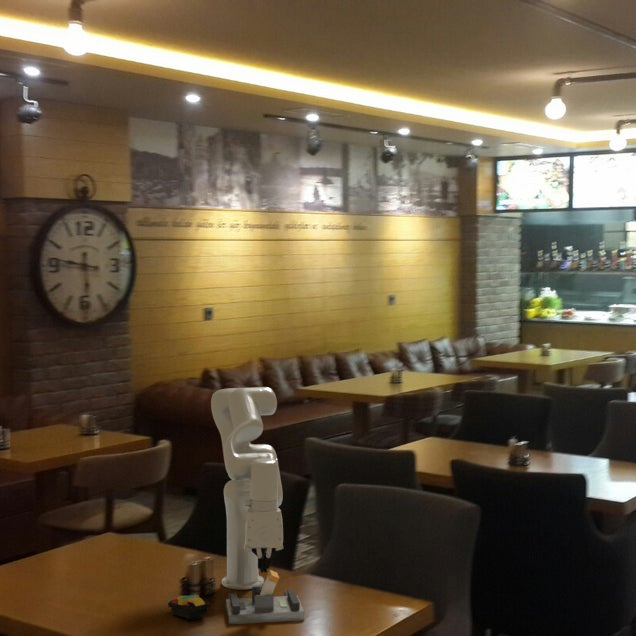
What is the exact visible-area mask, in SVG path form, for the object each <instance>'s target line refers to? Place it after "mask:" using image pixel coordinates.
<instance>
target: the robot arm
mask: <svg viewBox="0 0 636 636" xmlns="http://www.w3.org/2000/svg"><path fill="white" fill-rule="evenodd" d="M211 396H212V397H211V399H210V404H211V405H210V407H211V414H212V418H213V420H214V423H215V425H216V427H217V430H218V432H219V434H220V438H221V445H222V453H223V461H224V466H225V470H226V473H227V475H228V477H229V478H230V479H231V480H229V481H227V482H226V483H225V485H224V488H223V498H224V505H225V513H226V576H224V577H223V578H222V579H221V585H222V586H223V587H225V588H227V589H231V590H237V591H238V590H239V591H242V590H252V586H263V585H264V583H265V578H264V577H263V576H261V575H259V571H260V573H261V574H262V573H267V574H268V569H270V558H271V556H272V555H273V554H275V552H276V551H281V550H284V545H283V543H284V527H283V516H282V515H283V514H282V510H281V509H280V508H279V507H280V506H281V505H282V503H283V499H284V498H283V495H284V494H283V485H282V480H281V479H282V478H281V474H280V467H279V461H278V460H279V459H278V456H277V453H276V450H275V449H274V447H273V446H272V445H270V444H266V443H262V444H259V443H258V444H253V443H251V442H253V441H255V440H256V439H258V438H259V437H260V436H261V435H262V434H263V430H264V423H263V420H262V416H272V415H274V414H275V412H276V411H277V407H278V401H277V397H276V393H275V392H274V390H273V389H272V388H271V387H268V386H263V387H262V386H261V387H260V386H259V387H254V386H253V387H234V388H233V387H232V388H230V387H228V388H223V389H218V390H216V391H215V392H214V393H212V395H211ZM262 549H265V551H264V554H263V552H262Z"/></svg>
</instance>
